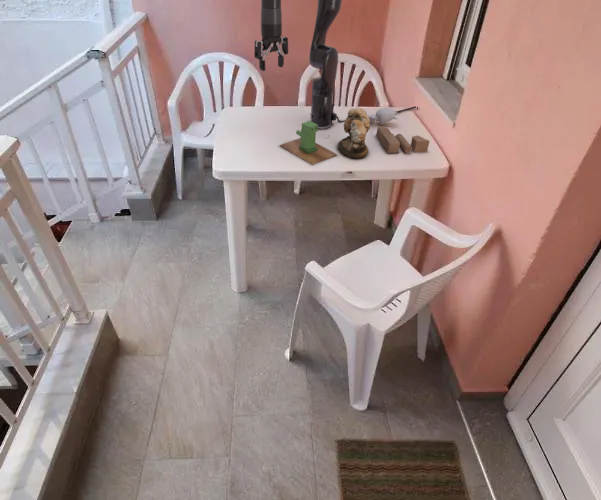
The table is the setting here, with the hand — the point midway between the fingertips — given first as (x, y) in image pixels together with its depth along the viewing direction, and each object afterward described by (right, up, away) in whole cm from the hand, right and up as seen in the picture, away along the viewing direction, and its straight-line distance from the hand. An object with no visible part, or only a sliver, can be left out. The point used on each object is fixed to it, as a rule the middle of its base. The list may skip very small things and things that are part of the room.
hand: (271, 68), depth 159 cm
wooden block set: (+53, -25, +16) cm, 61 cm away
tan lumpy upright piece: (+32, -29, +11) cm, 44 cm away
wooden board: (+14, -30, +9) cm, 34 cm away
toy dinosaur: (+12, -26, +9) cm, 30 cm away
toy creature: (+47, -12, +32) cm, 58 cm away
